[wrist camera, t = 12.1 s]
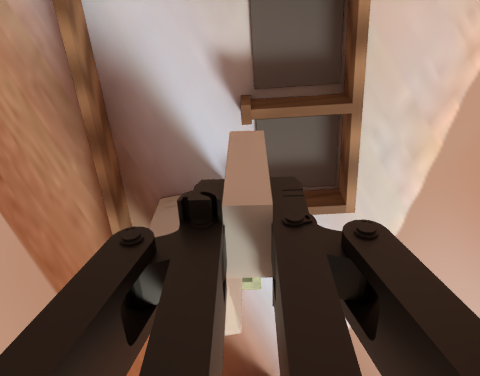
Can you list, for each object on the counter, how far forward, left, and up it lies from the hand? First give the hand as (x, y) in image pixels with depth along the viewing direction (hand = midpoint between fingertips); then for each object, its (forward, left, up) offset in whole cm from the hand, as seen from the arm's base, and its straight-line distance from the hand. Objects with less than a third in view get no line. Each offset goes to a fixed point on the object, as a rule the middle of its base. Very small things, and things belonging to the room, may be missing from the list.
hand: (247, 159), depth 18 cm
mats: (+4, +5, -26) cm, 27 cm away
